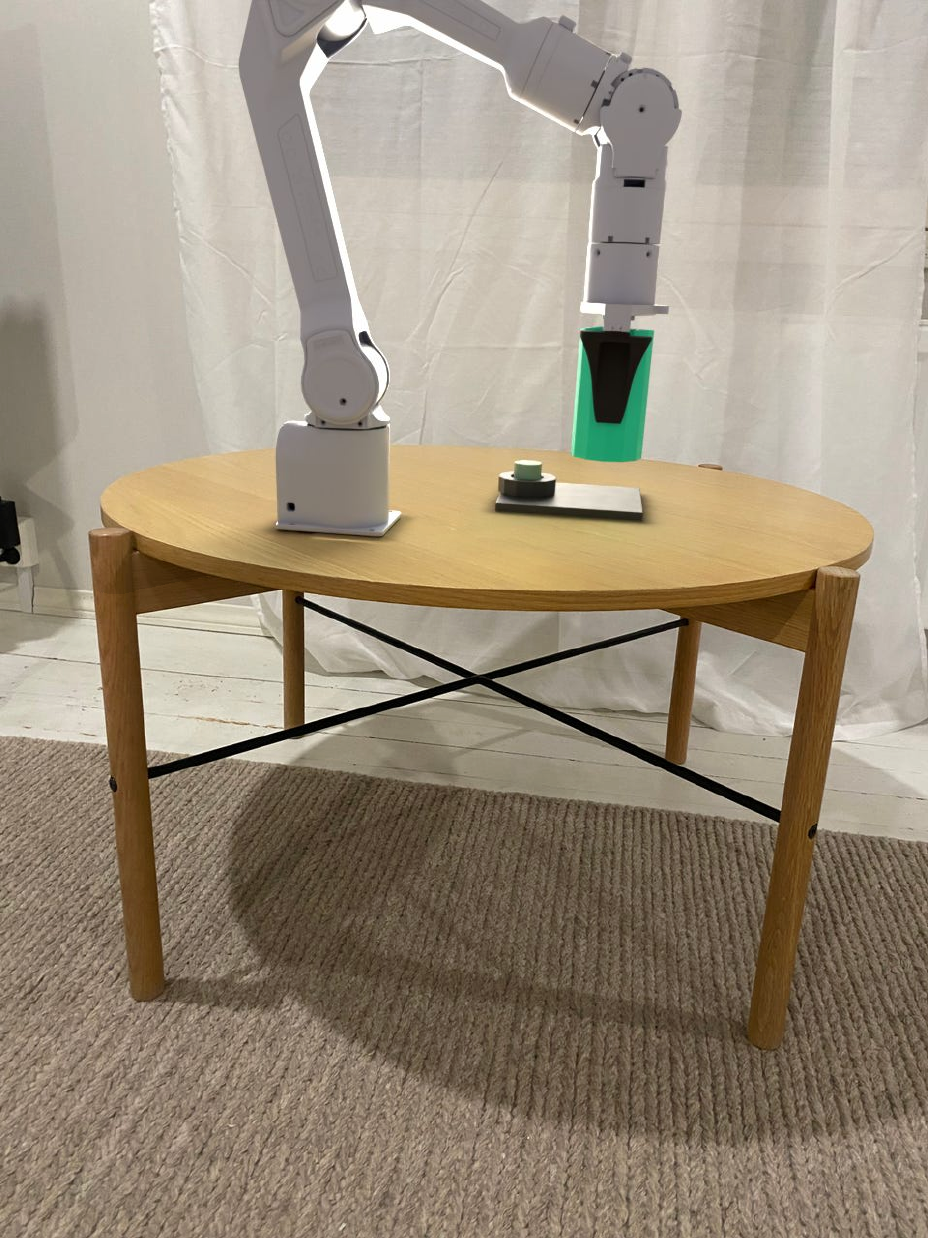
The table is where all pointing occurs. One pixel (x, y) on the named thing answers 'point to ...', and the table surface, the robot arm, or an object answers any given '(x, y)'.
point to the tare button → (527, 469)
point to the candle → (609, 437)
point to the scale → (567, 498)
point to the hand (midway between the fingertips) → (608, 418)
